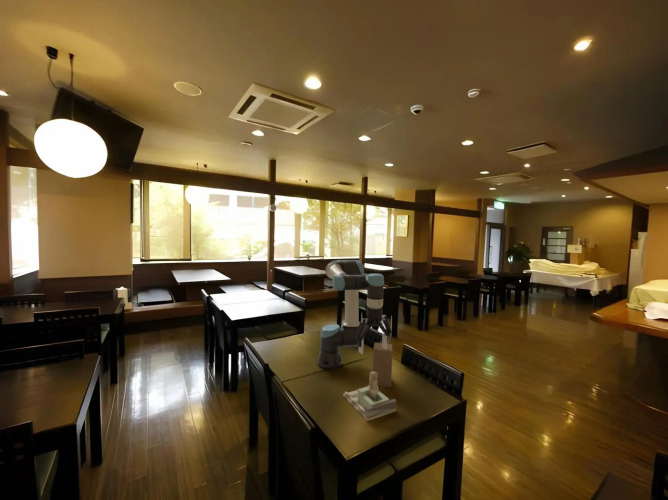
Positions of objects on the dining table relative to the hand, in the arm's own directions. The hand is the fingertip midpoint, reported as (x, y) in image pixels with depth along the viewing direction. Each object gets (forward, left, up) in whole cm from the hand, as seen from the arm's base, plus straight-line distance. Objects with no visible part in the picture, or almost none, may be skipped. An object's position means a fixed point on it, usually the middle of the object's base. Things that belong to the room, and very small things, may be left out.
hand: (372, 350), depth 133 cm
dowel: (+3, -1, -23) cm, 24 cm away
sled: (+3, -1, -24) cm, 25 cm away
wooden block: (-13, +17, -26) cm, 33 cm away
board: (0, -1, -26) cm, 26 cm away
